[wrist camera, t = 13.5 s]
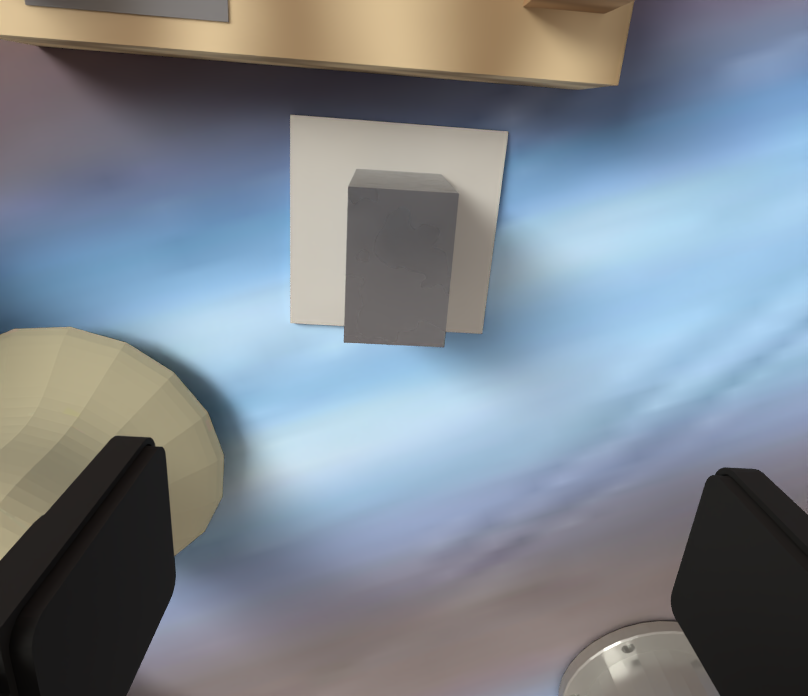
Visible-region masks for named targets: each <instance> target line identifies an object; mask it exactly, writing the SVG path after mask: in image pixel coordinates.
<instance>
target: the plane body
mask: <svg viewBox="0 0 808 696" xmlns="http://www.w3.org/2000/svg"><path fill="white" fill-rule="evenodd" d="M634 1H635V0H0V39H3V40H8V41H14V42H19V43H24V44H29V45H35V46H45V47H57V48H69V49H81V50H94V51H106V52H118V53H131V54H143V55H155V56H168V57H180V58H192V59H204V60H217V61H229V62H241V63H254V64H266V65H278V66H291V67H303V68H315V69H328V70H340V71H352V72H364V73H377V74H389V75H401V76H414V77H426V78H438V79H451V80H463V81H475V82H487V83H500V84H512V85H524V86H537V87H549V88H561V89H574V90H580V89H589V88H598V87H607V86H616V85H618V83H619V78H620V73H621V67H622V62H623V57H624V52H625V46H626V41H627V36H628V31H629V25H630V20H631V15H632V10H633V5H634Z"/></svg>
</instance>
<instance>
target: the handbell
mask: <svg viewBox="0 0 808 696" xmlns="http://www.w3.org/2000/svg"><path fill="white" fill-rule="evenodd" d="M114 436H135V437H151V438H152V439H153V440H154V443H155V446H160V447H163V448H164V450H165V453H166V463H167V475H168V487H169V499H170V511H171V523H172V535H173V547H174V556H175V555H177V554H178V553H179V552H180V551H181V550H183V549H184V548H185V547H186V546H188V545H189V544H190V543H191V542H192V541H194V540H195V539H196V538H197V537H198V536H200V535H201V534H202V533H203V532H205V530H206V528H207V526H208V524H209V522H210V520H211V518H212V516H213V514H214V512H215V510H216V508H217V506H218V504H219V502H220V500H221V499H222V495H223V471H224V454H223V451H222V449H221V446H220V443H219V441H218V438H217V435H216V433H215V430H214V427H213V425H212V422H211V419H210V417H209V414H208V412H207V411H206V410H205V408H204V407H203V406H202V405H201V404H200V403H199V401H198V400H197V399H196V398H195V397H194V395H193V394H192V393H191V392H190V391H189V390H188V388H187V387H186V386H185V385H184V384H183V383H182V381H181V380H180V379H179V378H178V377H177V375H176V374H175V373H174V372H173V371H171V370H169V369H168V368H166V367H165V366H163V365H161V364H160V363H158V362H157V361H155V360H153V359H152V358H150V357H149V356H147V355H146V354H144V353H142V352H141V351H139V350H138V349H136V348H134V347H133V346H131V345H130V344H128V343H126V342H122V341H119V340H115V339H112V338H108V337H104V336H101V335H97V334H94V333H90V332H87V331H83V330H79V329H76V328H72V327H52V328H23V329H12V330H10V331H8V332H5V333H3V334H0V560H1V559H2V558H3V557H4V556H5V555H6V553H7V552H8V551H9V550H10V549H11V548H12V547H13V546H14V544H15V543H16V542H17V541H18V540H19V539H20V538H21V537H22V535H23V534H24V533H25V532H26V531H27V530H28V529H29V527H30V526H31V525H32V524H33V523H34V522H35V521H36V520H37V519H38V518H40V517H41V516H42V515H44V514H45V513H46V512H47V511H48V510H49V509H50V508H51V506H52V505H53V504H54V503H55V502H56V501H57V500H58V498H59V497H60V496H61V495H62V494H63V493H64V492H65V491H66V489H67V488H68V487H69V486H70V485H71V484H72V483H73V481H74V480H75V479H76V478H77V477H78V476H79V475H80V473H81V472H82V471H83V470H84V469H85V468H86V467H87V465H88V464H89V463H90V462H91V461H92V460H93V459H94V458H95V456H96V455H97V454H98V453H99V452H100V451H101V450H102V448H103V447H104V446H105V445H106V444H107V443H108V442H109V440H110V439H111V438H113V437H114Z"/></svg>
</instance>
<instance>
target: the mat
mask: <svg viewBox="0 0 808 696" xmlns="http://www.w3.org/2000/svg"><path fill="white" fill-rule="evenodd" d="M507 139H508V131H497V130H484V129H471V128H457V127H444V126H431V125H418V124H405V123H392V122H379V121H366V120H353V119H340V118H327V117H314V116H301V115H290V323H299V324H317V325H334V326H344V317H345V280H346V243H347V207H348V186H349V183H350V181H351V179H352V177H353V175H354V173H355V171H356V169H369V170H384V171H400V172H416V173H432V174H442V175H443V177H444V178H445V179H446V180H447V181H448V182H449V183H450V184H451V185H452V186H453V187H454V188H455V190H456V191H457V192H458V193H459V199H458V210H457V220H456V230H455V241H454V251H453V261H452V272H451V282H450V292H449V303H448V313H447V323H446V332H459V333H477V334H482V331H483V323H484V316H485V308H486V300H487V293H488V285H489V277H490V270H491V262H492V254H493V247H494V239H495V231H496V224H497V216H498V208H499V201H500V193H501V185H502V178H503V170H504V162H505V155H506V147H507Z"/></svg>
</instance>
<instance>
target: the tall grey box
mask: <svg viewBox="0 0 808 696" xmlns="http://www.w3.org/2000/svg"><path fill="white" fill-rule="evenodd" d="M458 199H459V193H458V192H457V191H456V190H455V188H454V187H453V186H452V185H451V184H450V183H449V182H448V181H447V180H446V179H445V178H444V177H443V175H442V174H432V173H416V172H400V171H384V170H369V169H356V171H355V173H354V175H353V177H352V179H351V181H350V183H349V186H348V207H347V243H346V280H345V317H344V343H366V344H387V345H408V346H429V347H444V344H445V334H446V323H447V313H448V303H449V292H450V282H451V272H452V261H453V251H454V241H455V230H456V220H457V210H458Z"/></svg>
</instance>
